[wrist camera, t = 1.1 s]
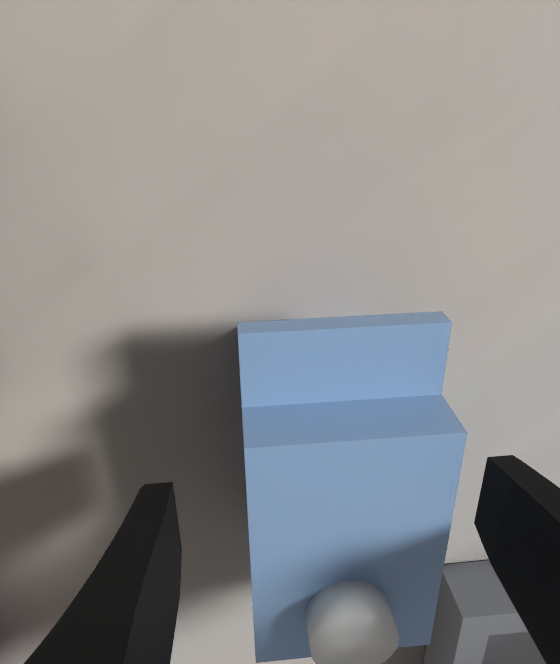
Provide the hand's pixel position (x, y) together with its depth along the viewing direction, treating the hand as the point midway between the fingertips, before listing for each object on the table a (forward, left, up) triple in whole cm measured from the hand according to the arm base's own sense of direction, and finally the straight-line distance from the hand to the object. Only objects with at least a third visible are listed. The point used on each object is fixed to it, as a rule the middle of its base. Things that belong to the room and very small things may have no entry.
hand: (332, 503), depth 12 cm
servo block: (0, 0, -3) cm, 3 cm away
